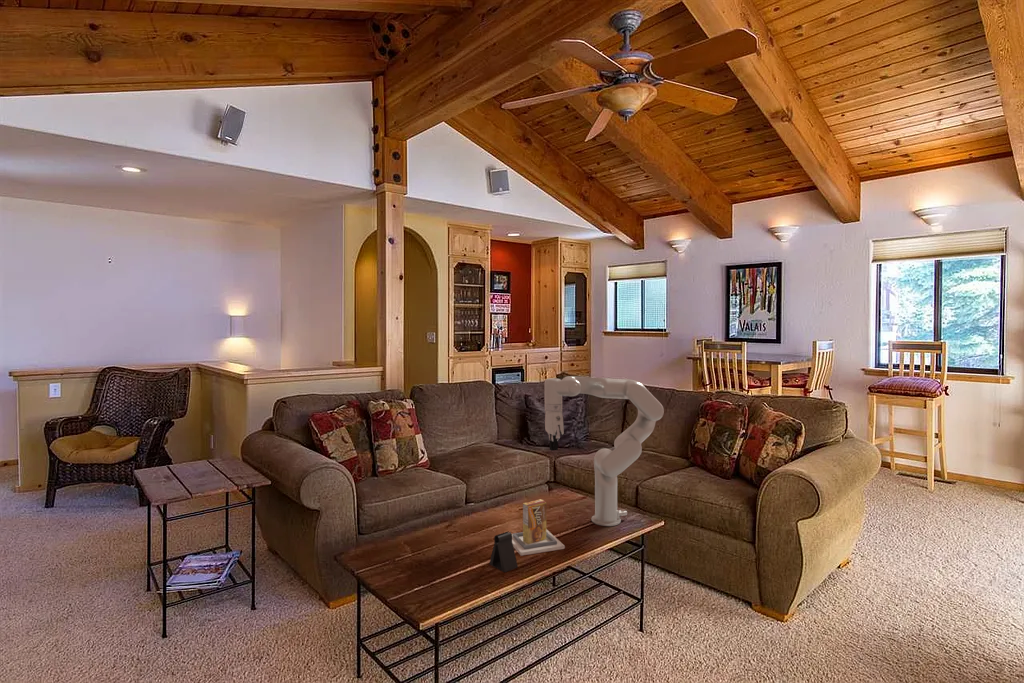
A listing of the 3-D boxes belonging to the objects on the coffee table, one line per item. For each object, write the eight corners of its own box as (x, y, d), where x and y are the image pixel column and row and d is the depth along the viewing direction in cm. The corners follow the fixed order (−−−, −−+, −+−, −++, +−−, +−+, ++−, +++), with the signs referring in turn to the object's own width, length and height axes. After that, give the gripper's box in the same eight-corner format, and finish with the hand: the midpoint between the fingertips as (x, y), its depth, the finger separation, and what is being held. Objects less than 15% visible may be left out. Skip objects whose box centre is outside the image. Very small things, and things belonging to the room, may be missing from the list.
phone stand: (489, 564, 214) (488, 532, 213) (502, 559, 217) (501, 528, 217) (504, 572, 207) (504, 539, 206) (517, 567, 211) (517, 535, 210)
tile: (546, 532, 244) (546, 526, 244) (564, 548, 227) (564, 542, 227) (505, 538, 238) (505, 532, 238) (521, 555, 221) (520, 549, 221)
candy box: (540, 536, 236) (540, 498, 236) (547, 539, 233) (546, 501, 232) (522, 541, 232) (522, 502, 231) (528, 544, 228) (528, 505, 227)
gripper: (568, 409, 245) (569, 453, 246) (554, 404, 259) (554, 445, 260) (552, 410, 242) (552, 454, 243) (538, 405, 256) (538, 446, 257)
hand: (553, 449), depth 252 cm, fingers closed
